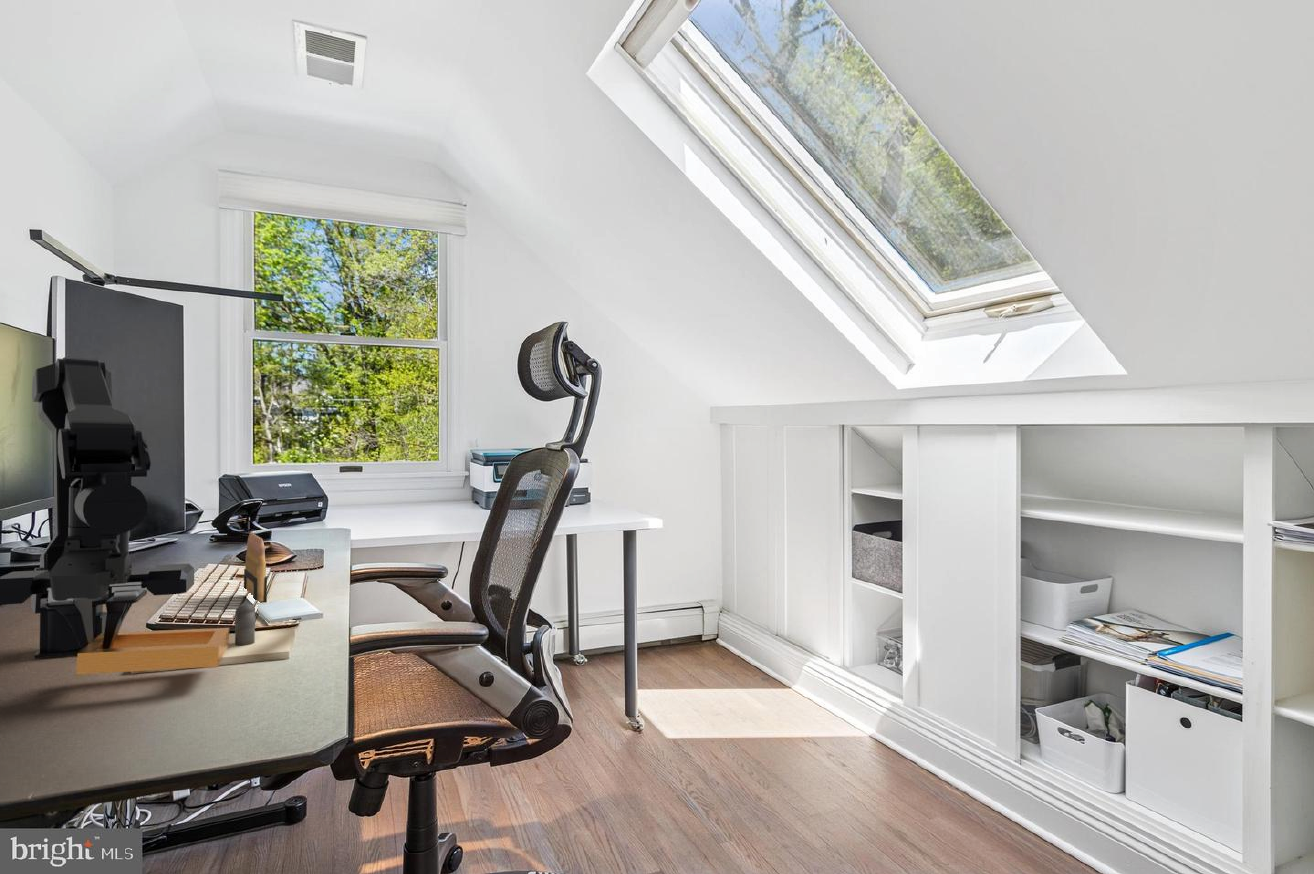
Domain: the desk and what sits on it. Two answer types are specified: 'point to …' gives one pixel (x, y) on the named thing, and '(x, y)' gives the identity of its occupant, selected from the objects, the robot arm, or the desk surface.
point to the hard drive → (288, 610)
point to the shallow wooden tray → (154, 651)
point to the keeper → (252, 641)
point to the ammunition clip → (256, 569)
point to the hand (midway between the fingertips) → (97, 654)
